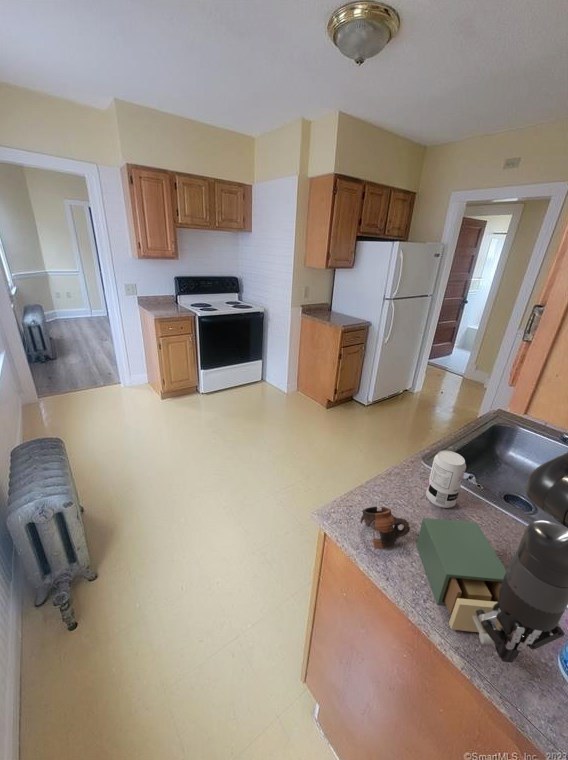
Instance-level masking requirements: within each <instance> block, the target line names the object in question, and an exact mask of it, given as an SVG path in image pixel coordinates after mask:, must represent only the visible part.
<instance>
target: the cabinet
mask: <svg viewBox="0 0 568 760" xmlns="http://www.w3.org/2000/svg"><path fill="white" fill-rule="evenodd" d="M415 546H416V549H417V552H418V554H419V558H420V560H421V563H422V566H423V569H424V571H425V574H426V578H427V580H428V583H429V585H430V588H431V591H432V594H433V597H434V599H435V602H436V605H437V606H446V603H445V601H444V598H443V597H444V594H445V590H446V587H447V584H448V581H449V577H451V578H462V579H473V580H484V581H495V582H502V581H503V579H504V576H505V574H506V571H507V569H506V568H505V565H504V564H503V563H502V561H501V560H500V557H499V556H498V555H497V553H496V552H495V551H496V550H494V548H493V546H492V545H491V543H490V541H489V540H488V538H487V536H486V535H485V533H484V532H483V530H482V529H481V527H480V525H479V524H478V522H476V521H463V520H453V519H452V520H451V519H441V518H439V519H438V518H426V517H423V518H422V521H421V525H420V528H419V533H418V537H417V541H416V545H415Z"/></svg>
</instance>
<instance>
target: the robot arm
mask: <svg viewBox="0 0 568 760" xmlns="http://www.w3.org/2000/svg"><path fill="white" fill-rule="evenodd" d="M524 488H525V494H526V497H527V498H528V500H529V501H530V502H531V503H532V504H533V505H535V506H536V507H537V508H539V509H540V510H542V511H543V512H544V513H545V514H547V515H549V516H550V517H551V518H552V519H554V520H555V521H557V522H558V523H560V524H561V525H560V524H558V523H555V522H553V521H549V520H542V519H541V520H540V519H537V520H534V521H532V522H530V523H529V524H527V526H526V527H525V530H524V532H523V535H522V536H521V539H520V542H519V545H518V547H517V549H516V551H515V552H514V554H513V555H512V557H511V559H510V561H509V564H508V566H507V569H506V574H505V576H504V579H503V581H502V584H501V586H500V589H499V601H498V603H496V604H495V605H494V606H493V611H491V612H488V613H485V612H484V611H483V610H482V609H479V610H477V611H476V613H477V616H478V618H479V620H480V622H481V624H482V626H483V628H484V630H485V631H486V632H487V634H488V635H489V636H490V638H491V639H492V640H493V641H494V643H495V644H496V645H494V649H495V651H496V653H497V655H498V657H499V658H500V660H501V661H502V662H503V663H513V662H514V660H516V659H517V658H518V656H519V654H520V652H523V651H524V650H526V648H527V647H528V648H529V650H537V649H538V648H540V647H543V646H545V645H547V644H549V643H552V642H553V641H555V640H558V639H561V638H562V637H563V636H565V634H566V633H565V632H564V630H563V628H562V627H561V625H560V623H559V622H560V620H561V618H562V617H563V615H564V613H565V611H566V609H567V607H568V450H567V451H565V452H563V453H561V454H559V455H557V456H555V457H553V458H551V459H549V460H546V462H543V463H542V464H540V465H538V467H536V468H534V470H533V471H532V472H531V473H530V474H529V475H528V477H527V479H526V482H525V487H524ZM497 620H498V621H499V623H500V627H499V630H497V629H496V627H495V626H496V621H497Z"/></svg>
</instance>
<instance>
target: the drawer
mask: <svg viewBox="0 0 568 760" xmlns="http://www.w3.org/2000/svg"><path fill="white" fill-rule="evenodd" d="M457 579H458V578H451V577H449V581H448V584H447V587H446V590H445V594H444V597H443V598H444V601H445V603H446V605H445V606H446V608H447V611H448V614H449V616H450V618H449V621H448V624H449V627H450V629H451V630H453V631H462V632H463V631H464V632H472V633H478V639H479V641H480V643H481V644H483V645H492V646H495V645H496V644H495V643H494V641H493V640H492V639H491V638H490V636H489V635H488V634H487V632H486V631H485V630H484V628H483V626H482V624H481V622H480V620H479V618H478V616H477V613H476V611H477V610H479V609H482V610H483V611H484V612H485V613H488V612H491V611H493V606H494V605H495V604H496V603H498V601H499V589H500V586H501V584H502V582H495V581H484V582H485V584H486V586H487V588H488V590H489V592H490V594H491V596H492V597H491V600H490V601H482V600H472V599H461V598H460V597H461V594H462V592H461V590H460V587H459V585H458V583H457ZM495 627H496V629H497V630H499V627H500V623H499V621H498V620H497V621H496V626H495Z"/></svg>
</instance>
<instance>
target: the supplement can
mask: <svg viewBox="0 0 568 760" xmlns="http://www.w3.org/2000/svg"><path fill="white" fill-rule="evenodd" d="M466 469H467V464H466V460H465V458H464V457H463V456H462V455H461V454H459V453H457V452H455V451H451V450H440V451H438V452H437V454H435V456H434V458H433V461H432V466H431V470H430V474H429V478H428V483H427V487H426V491H425V495H426V498H427V499H428V500H429V502H430V503H432V504H433V505H435V506H437V507H439V508H441V509H442V508H443V509H450V508H453V507H454V506H456V504H457V500H458V497H459V494H460V490H461V486H462V483H463V479H464V476H465V473H466Z"/></svg>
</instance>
